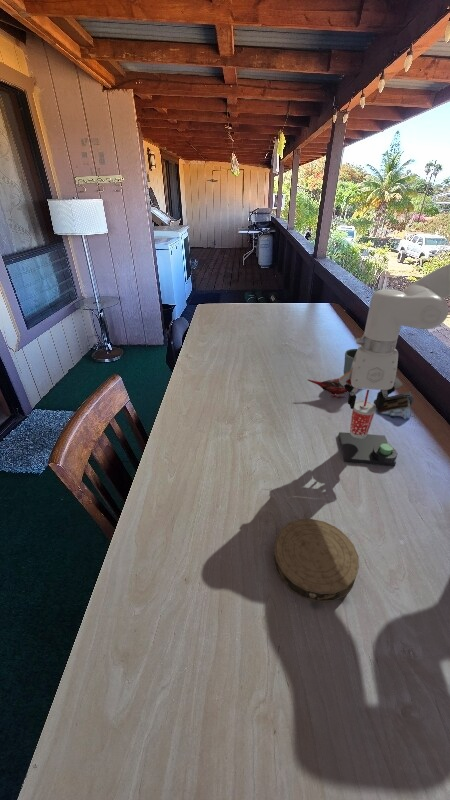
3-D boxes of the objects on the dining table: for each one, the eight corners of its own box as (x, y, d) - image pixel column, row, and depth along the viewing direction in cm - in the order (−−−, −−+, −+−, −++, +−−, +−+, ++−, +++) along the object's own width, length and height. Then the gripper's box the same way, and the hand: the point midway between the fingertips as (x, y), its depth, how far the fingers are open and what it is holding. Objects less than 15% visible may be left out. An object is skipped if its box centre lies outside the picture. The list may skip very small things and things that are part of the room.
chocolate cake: (372, 416, 114) (407, 401, 106) (371, 400, 118) (405, 385, 110) (389, 431, 117) (425, 418, 109) (387, 416, 122) (422, 402, 114)
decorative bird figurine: (357, 401, 121) (362, 376, 116) (305, 396, 124) (308, 371, 119) (356, 397, 123) (361, 372, 118) (305, 392, 127) (308, 368, 121)
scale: (385, 439, 103) (387, 431, 101) (397, 467, 92) (400, 459, 91) (338, 435, 104) (339, 427, 103) (344, 463, 94) (346, 454, 92)
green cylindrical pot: (368, 391, 127) (374, 361, 121) (339, 387, 130) (344, 357, 124) (367, 379, 135) (374, 350, 129) (340, 375, 138) (345, 347, 132)
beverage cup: (359, 425, 101) (369, 382, 94) (374, 437, 96) (386, 393, 89) (342, 430, 99) (350, 386, 92) (356, 442, 94) (366, 397, 87)
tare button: (389, 449, 95) (390, 443, 94) (392, 456, 92) (393, 451, 91) (377, 448, 95) (379, 443, 94) (380, 455, 93) (382, 450, 92)
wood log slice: (369, 558, 70) (372, 548, 68) (332, 621, 59) (334, 612, 58) (300, 516, 79) (301, 506, 77) (257, 564, 69) (258, 555, 67)
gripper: (344, 348, 82) (332, 412, 91) (422, 351, 80) (402, 417, 89) (339, 336, 88) (329, 398, 97) (411, 339, 86) (394, 401, 95)
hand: (364, 406), depth 93 cm, fingers closed on beverage cup, 6 cm apart
